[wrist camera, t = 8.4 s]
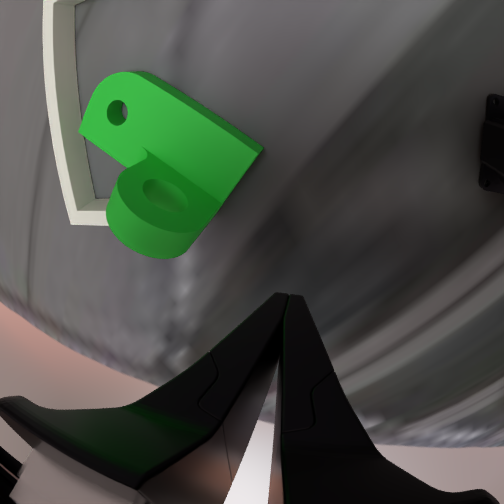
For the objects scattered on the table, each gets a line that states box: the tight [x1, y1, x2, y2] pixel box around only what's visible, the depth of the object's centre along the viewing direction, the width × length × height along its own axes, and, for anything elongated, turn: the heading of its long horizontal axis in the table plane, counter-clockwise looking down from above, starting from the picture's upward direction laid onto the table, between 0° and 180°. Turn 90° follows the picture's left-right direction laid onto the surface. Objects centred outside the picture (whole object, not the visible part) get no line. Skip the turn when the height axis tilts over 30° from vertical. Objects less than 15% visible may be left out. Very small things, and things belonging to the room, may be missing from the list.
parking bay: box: [43, 0, 109, 226], centre depth 18 cm, size 10×19×2 cm, turn 2°
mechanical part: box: [78, 71, 263, 259], centre depth 17 cm, size 12×6×8 cm, turn 55°
